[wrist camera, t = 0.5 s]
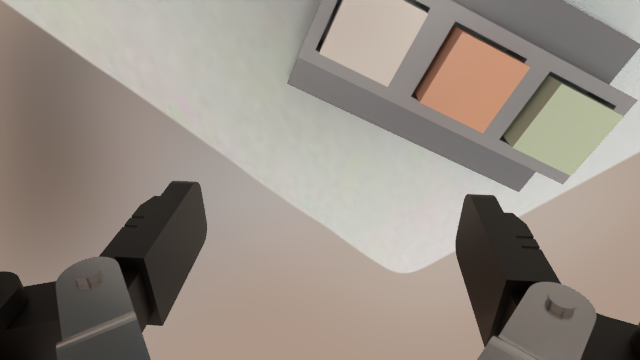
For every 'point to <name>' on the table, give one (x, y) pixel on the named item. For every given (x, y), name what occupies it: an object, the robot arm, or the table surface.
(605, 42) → the console
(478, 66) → the button terracotta
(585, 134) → the button sage
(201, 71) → the table surface
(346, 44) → the button cream
